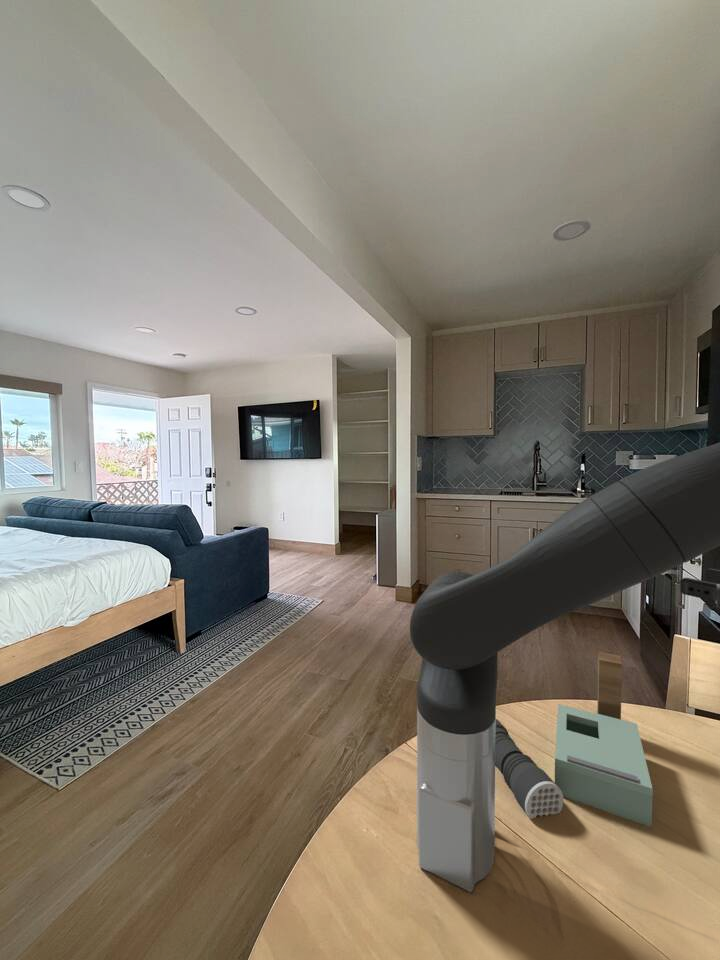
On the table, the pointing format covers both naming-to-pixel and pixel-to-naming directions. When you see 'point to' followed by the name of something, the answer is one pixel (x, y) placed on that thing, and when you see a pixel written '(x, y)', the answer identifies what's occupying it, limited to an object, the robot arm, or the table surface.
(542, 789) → the flashlight
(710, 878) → the table surface
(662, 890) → the table surface
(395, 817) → the table surface
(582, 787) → the peg-in-hole base
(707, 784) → the table surface
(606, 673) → the wooden peg
